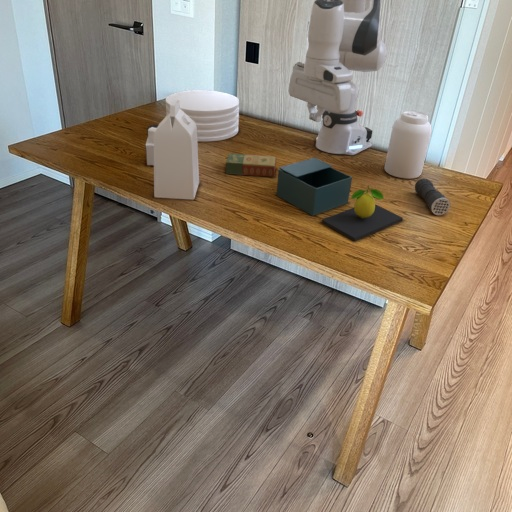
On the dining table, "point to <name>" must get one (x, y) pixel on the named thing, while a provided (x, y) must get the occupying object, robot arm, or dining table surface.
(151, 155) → the medicine bottle
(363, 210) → the lemon
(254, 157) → the carton
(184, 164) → the milk
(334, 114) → the robot arm
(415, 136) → the white lidded jar
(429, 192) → the flashlight
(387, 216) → the mat
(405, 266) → the dining table surface
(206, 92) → the plate stack
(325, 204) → the box
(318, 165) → the flap
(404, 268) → the dining table surface
